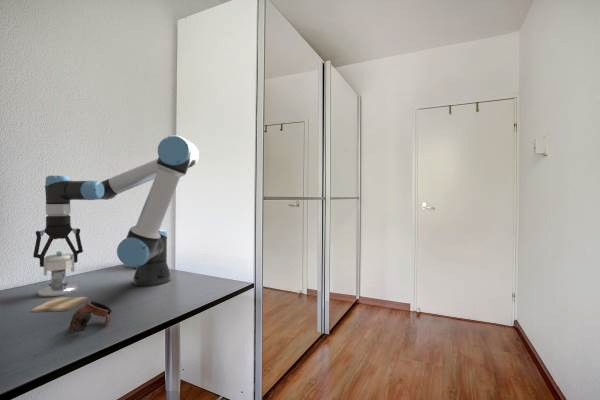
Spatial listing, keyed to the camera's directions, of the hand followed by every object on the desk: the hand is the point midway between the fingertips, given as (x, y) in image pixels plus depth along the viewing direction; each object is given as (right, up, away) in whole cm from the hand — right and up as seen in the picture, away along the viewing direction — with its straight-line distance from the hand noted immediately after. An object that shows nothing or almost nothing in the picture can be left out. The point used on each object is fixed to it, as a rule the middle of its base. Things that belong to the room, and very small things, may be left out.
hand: (59, 272), depth 118 cm
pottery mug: (+33, -9, -31) cm, 47 cm away
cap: (0, +2, 0) cm, 2 cm away
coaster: (+11, -8, -13) cm, 19 cm away
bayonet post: (0, -8, 0) cm, 8 cm away
